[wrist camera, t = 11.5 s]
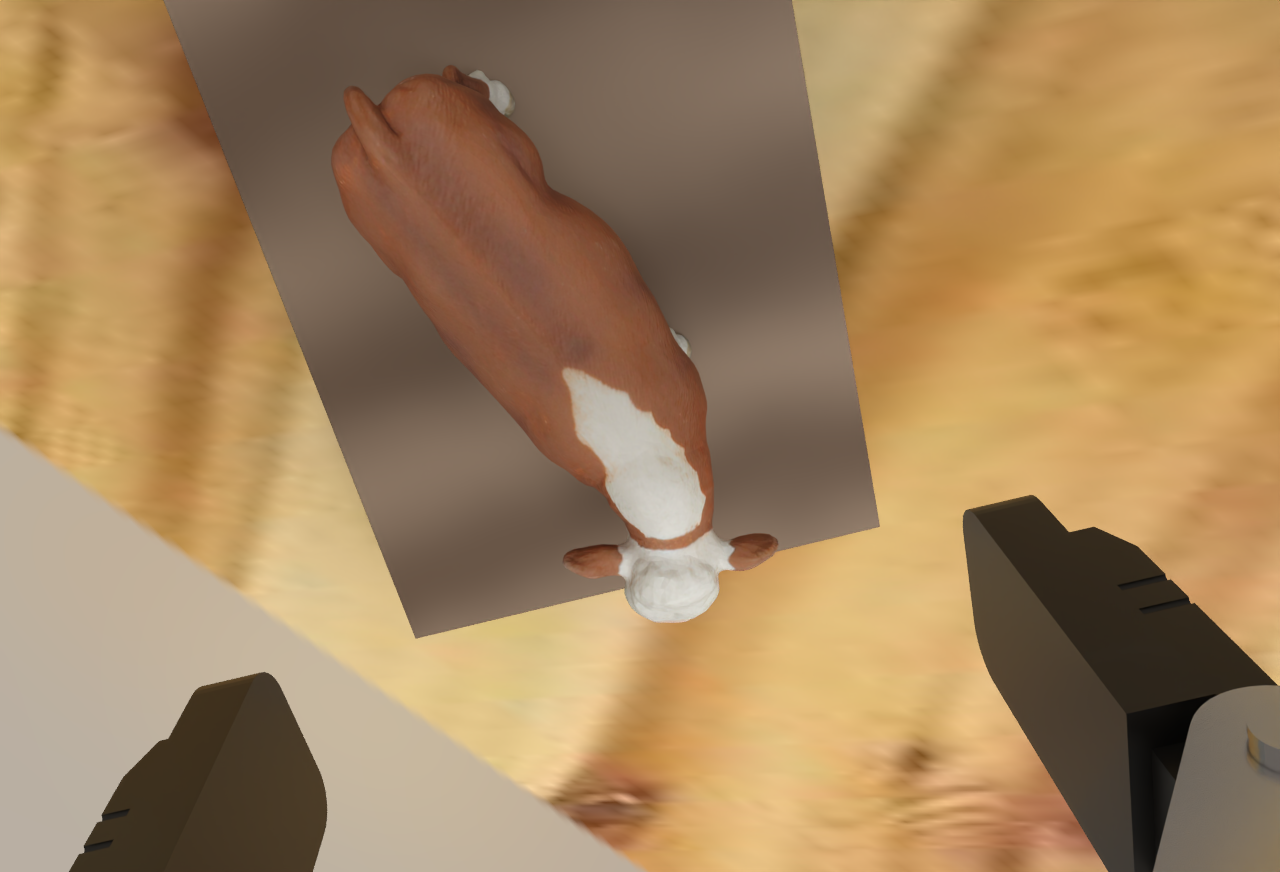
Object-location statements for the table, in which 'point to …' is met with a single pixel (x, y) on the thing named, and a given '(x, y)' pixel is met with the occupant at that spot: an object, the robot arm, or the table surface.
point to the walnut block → (611, 188)
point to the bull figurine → (545, 323)
